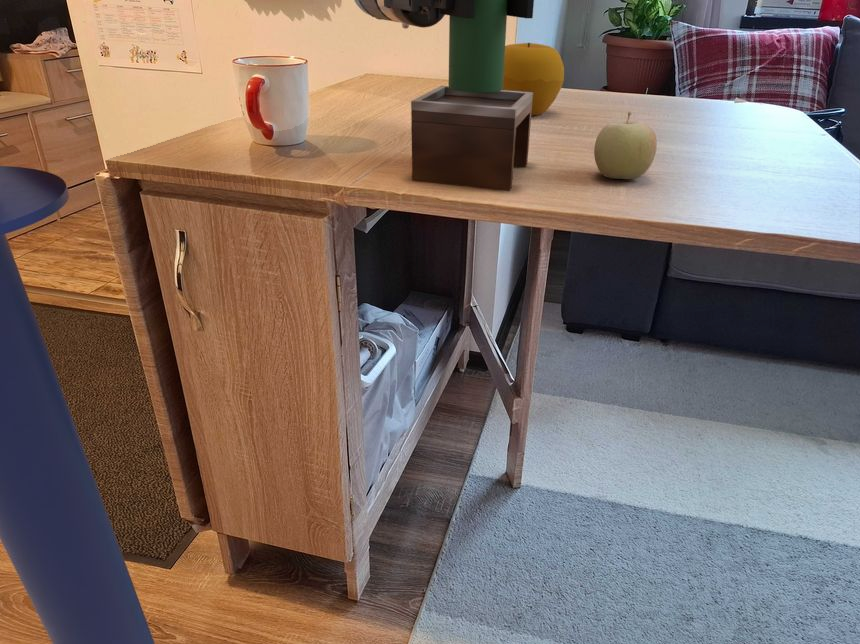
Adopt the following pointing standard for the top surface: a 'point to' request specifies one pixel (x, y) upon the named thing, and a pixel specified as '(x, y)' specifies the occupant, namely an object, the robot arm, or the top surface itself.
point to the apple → (534, 73)
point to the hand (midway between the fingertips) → (501, 3)
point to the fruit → (625, 149)
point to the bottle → (478, 48)
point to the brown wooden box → (470, 137)
